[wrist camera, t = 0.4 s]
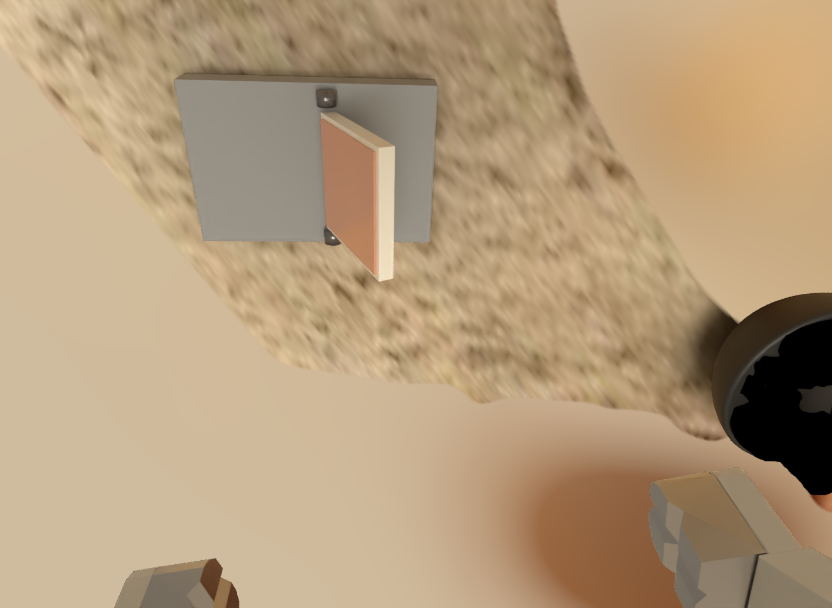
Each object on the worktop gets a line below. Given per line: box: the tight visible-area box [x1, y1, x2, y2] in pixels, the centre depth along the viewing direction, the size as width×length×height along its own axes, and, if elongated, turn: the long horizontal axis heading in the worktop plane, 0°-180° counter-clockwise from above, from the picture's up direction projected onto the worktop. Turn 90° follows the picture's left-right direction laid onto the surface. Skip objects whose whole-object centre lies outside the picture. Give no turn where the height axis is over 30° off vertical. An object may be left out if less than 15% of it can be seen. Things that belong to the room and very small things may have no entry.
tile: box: [320, 111, 395, 281], centre depth 43 cm, size 10×11×1 cm
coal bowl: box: [712, 293, 832, 495], centre depth 56 cm, size 20×20×19 cm
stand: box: [174, 73, 438, 246], centre depth 48 cm, size 14×21×5 cm, turn 88°
